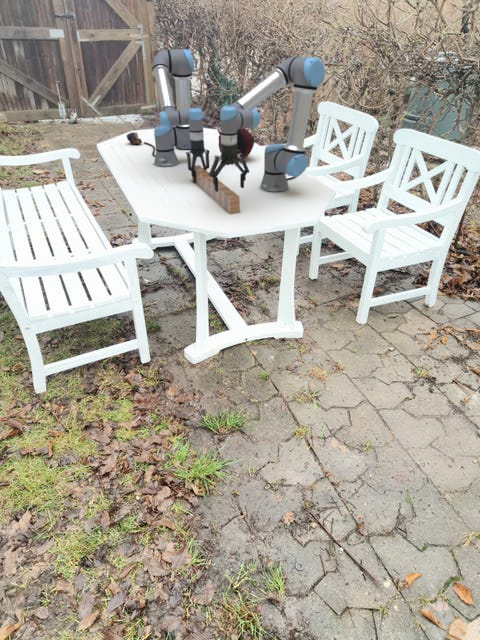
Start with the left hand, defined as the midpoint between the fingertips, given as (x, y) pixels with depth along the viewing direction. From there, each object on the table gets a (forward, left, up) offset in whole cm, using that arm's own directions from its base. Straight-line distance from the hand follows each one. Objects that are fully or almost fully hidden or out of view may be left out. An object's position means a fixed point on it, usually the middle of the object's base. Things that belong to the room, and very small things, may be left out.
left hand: (199, 181), depth 262 cm
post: (+22, -10, -1) cm, 24 cm away
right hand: (+43, -20, +10) cm, 48 cm away
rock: (-104, +30, -1) cm, 108 cm away
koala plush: (-66, +49, -1) cm, 82 cm away
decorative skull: (-18, +50, -1) cm, 54 cm away
